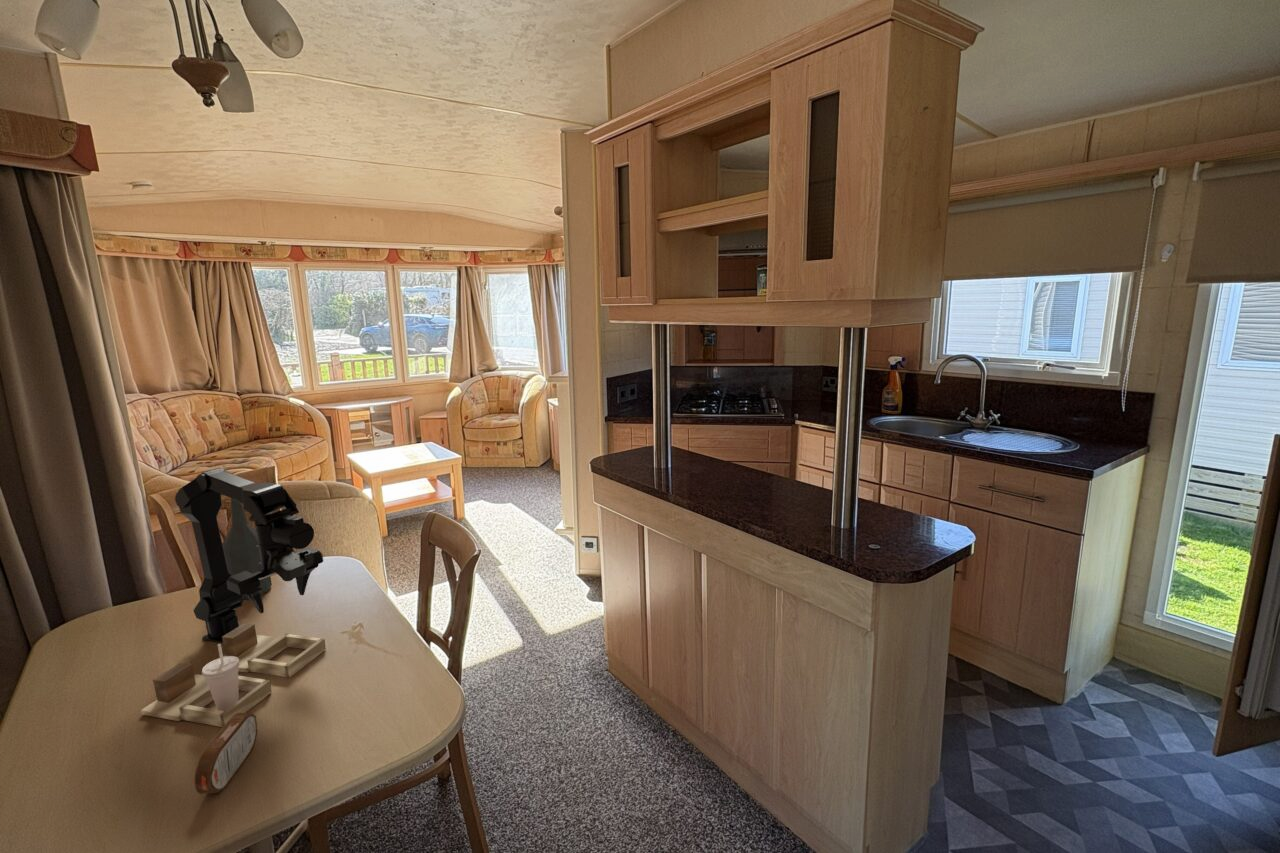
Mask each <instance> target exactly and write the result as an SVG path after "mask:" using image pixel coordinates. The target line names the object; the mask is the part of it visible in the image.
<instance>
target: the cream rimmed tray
mask: <svg viewBox="0 0 1280 853" xmlns="http://www.w3.org/2000/svg"><path fill="white" fill-rule="evenodd" d="M238 680H239V691H241V692H247V693H246V694H245V695H244V696H242V697H241V698H239V701H237V702H236V703H235V704H233V705H232V706H231V707H229V708H228V709H227V710H225V711H220V710H217V709H215V708H208V707H206V706H207V705H209V704H211V702H214V699H213V697H212V694H211V692H210V689H209V686H208V684H207V681H206V678H204V677H203V676H202V674H198V673H197V674H195V672H194V668H193V664H192V663H188V662H187V663H186V662H179V663H177V664H176V665H174V666H173V667H171V668H169V669H168V670H165V671H164V672H163V673H161V674H159V675H158V676H156V677H155V678H153V679H152V682H153V686H154V691H155V695H156V696H155V697H156V700H154V701H152V702H151V703H150V704H148V705H147V706H145V707H143V708H142V709H141V710H140V713H141V715H142V716H143V715H144V716H148V717H149V716H150V717H153V718H154V717H155V718H158V719H165V720H171V721H176V722H180V721H182V720H183V721H188V722H194V723H199V724H204V725H209V726H213V727H214V726H215V727H219V728H220V727H221V728H223V726H224V725H225V724H226V723H227V722H228V721H229V719H230V718H231V717H232V716H233V715H234V714H236V713H248V711H250V710H251V709H252V708H253V707H255V706H256V705H257V704H258V703H260V702H261V701H262V700H264V699H265V698H266V697H267V696H268V695H270V694H271V693H273V692H272V686H271V681H270V680H269V679H264V678H256V677H250V676H243V675H238Z"/></svg>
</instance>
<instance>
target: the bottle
mask: <svg viewBox="0 0 1280 853" xmlns="http://www.w3.org/2000/svg"><path fill="white" fill-rule="evenodd" d="M230 508H231V509H230V510H231V511H230V513H231V527H230V529H229V530H228V532H227V533H226V536H225V539H224V540H223V541H222V544H223V549H224V553H225V558H226V562H227V567H228V571H229V573H230V574H231V575H232V576H233V575H236V574H238V573H241V572H244V571H248V572H250V573H252V574H254V573H256V572H259V571H261V570H262V568H260V567H259V566H258V563H259V562H261V560H260V553H259V551H257V550H256V547H255V546H257V545H258V540H257V534H256V528H254V527H253V526H252V525H250V524H249V522H248V519H247V514H246V512H245V510H244V508H243V503H241V502H239V501H237V500H235V499H232V498H230ZM272 585H273V584H272V576H270V577H267V578H265V579H262V580H260V586H259V588H262V591H261V594H262V595H263V593H264V594H266V593H267V592H268V591H269V590H270V589H271V587H272ZM269 588H270V589H269ZM265 592H266V593H265ZM243 600H250V599H249V598H248V597H247V596H246V595H243Z"/></svg>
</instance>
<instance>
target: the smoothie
mask: <svg viewBox="0 0 1280 853" xmlns="http://www.w3.org/2000/svg"><path fill="white" fill-rule="evenodd" d="M217 649H218V656H219V657H218V658H216V659H213V660H211V661H210V662H207V663H206V664H205V665H204V666H203V667H202V669H201V675H202V676H203V677H204V678H206V681H207V684H208V686H209V689H210V692H211V694H212V697H213V699H214V700H213V702H214V704H215V707H216V710H220V711H225V710H227V709H228V708H229V707H231V706H232V705H233V704H235V703H236V702H237V701H239V700H240V696H239V695H240V694H239V692H240V690H239V680H238V676H239V671H238V667H239V665H240V662H239V659H238V658H237V657H235V656H226V657H223V656H224V654H223V649H222V644H221V643H218V644H217Z"/></svg>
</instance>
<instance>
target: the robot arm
mask: <svg viewBox="0 0 1280 853" xmlns="http://www.w3.org/2000/svg"><path fill="white" fill-rule="evenodd" d="M222 496H225V497H227V498H230V499H231V498H232V499H235V500H237V501H239V502H241V503H242V505H243V509H244V511H246V512H248V513H249V514H250V515H251V516H249V517H248V521H250V522H254V526H255V528H254V529H255V530H256V534H257V540H258V545H257V546H255V547H256V550H257V551H259V553H260V560H261V562H259V563H258V566H259V567H260V568H262V570H261V571H259V572H256V573H254V574H252V573H250V572H248V571H244V572H241V573H238V574H236V575H233V576H232V575H231V574H230V573H229V571H228V567H227V562H226V558H225V553H224V549H223V544H222V543H223V540H222V536H221V531H220V527H219V522H218V515H219V513H220V510H221V508H222V506H223V502H222ZM174 501H175V504H176V505H177V507H178V509H179V511H180V514H181V515H182V516H184V517H185V518H186V519H187V520H189V521H190V522H191V525H192V529H193V533H194V534H193V535H194V537H195V542H196V547H197V551H198V554H199V555H198V556H199V560H200V564H201V568H202V569H201V570H202V573H203V576H204V578H203V580H202V583H201V585H200V587H199V590H198V592H199V601H198V603H197V604H196V605H195V607H194V609H193V613H194V616H195V618H196V619H198V620H201V621H204V623H205V626H206V632H207V634H205V635H204V636H202V640H204V641H209V642H211V641H212V642H216V643H217V642H218V643H223V639H222V637H223V636H224V635H226V634H227V633H229V632H231V631H232V630H234V629H235V628H237V627H239V626H240V624H239V618H238V615H237V612H236V609H237V608H240V607H242V606H243V600H244V599H243V595H246V596H247V597H248V598H249V599H248V600H250V602H251V604H253V605H254V607H255V609H256V610H257V611H258V612H259V613H260V614H264V613H265V608H264V603H263V599H262V598H263V597H262V595H261V591H262V588H259V586H260V580H262V579H265V578H267V577H272V576H275V575H278V576H279V577H280V578H281V580H282V581H284V582H292V581H293V580H294V579H295V582H296V586H297V587H296V588H297V590H298V593H299V595H300V596H305V593H306V589H307V585H308V580H309V578H310V575H311V573H312V572H313V571H314V570H315V569H316V568H318V567H319V564H322V563H324V555H323V553H322V551H321V550H318V549H315V548H312V547H309V545H310V544H311V543H312V542H313V540H314V537H315V529H314V527H313V526H312V525H311V524H310V523H308V522H305V521H304V517H302V516H295V515H297V514H299V513H300V511H299V509H298V507H297V503H296V502H295V501H294V500H293V499H292V497H291V496H290V494H289V493H288V491H287V490H286V488H284V487H283V486H282V485H281V484H280V483H273V482H254V481H252V480H249V479H245V478H243V477H240V476H239V475H235V474H233V473H230V472H227V471H226V469H224V468H220V467H219V468H214V469H211V470H207V471H203V472H201V473H200V474H198V475H197V476H196V477H195V478H194V479H193V480H191V481H189V482H188V483H187V484H184V485H183V486H182V487H180V488H179V489H178V492H176V494H175V496H174ZM275 511H276V512H275ZM295 549H296V550H297V551H295Z"/></svg>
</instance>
